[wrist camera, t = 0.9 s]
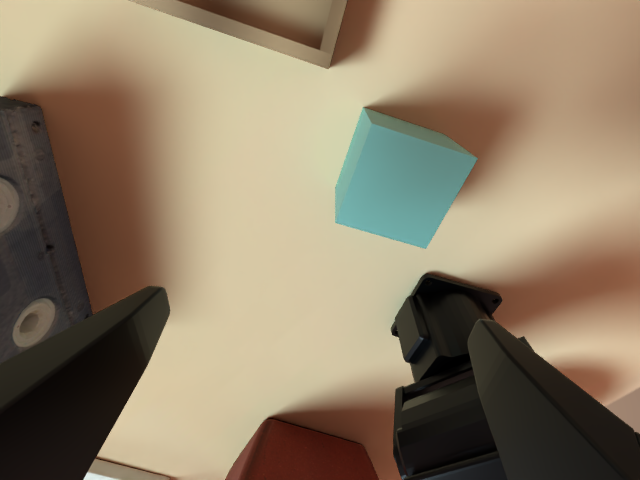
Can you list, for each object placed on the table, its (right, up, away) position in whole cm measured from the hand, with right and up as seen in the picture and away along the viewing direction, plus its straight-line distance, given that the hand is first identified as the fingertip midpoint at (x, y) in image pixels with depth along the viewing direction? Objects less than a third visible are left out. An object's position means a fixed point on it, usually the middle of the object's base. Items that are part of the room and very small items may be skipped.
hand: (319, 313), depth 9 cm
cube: (+4, +7, +10) cm, 13 cm away
